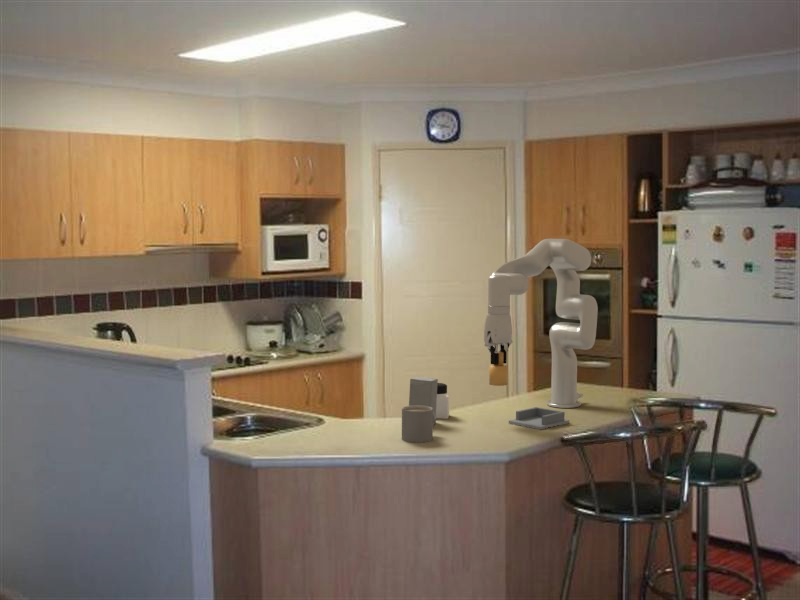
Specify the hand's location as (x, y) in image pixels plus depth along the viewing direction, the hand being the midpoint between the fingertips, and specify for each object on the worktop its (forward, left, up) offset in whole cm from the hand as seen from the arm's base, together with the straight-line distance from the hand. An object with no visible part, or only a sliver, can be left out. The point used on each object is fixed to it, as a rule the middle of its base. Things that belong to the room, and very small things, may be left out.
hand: (498, 363), depth 345 cm
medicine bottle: (+6, -22, -21) cm, 32 cm away
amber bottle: (0, 0, -7) cm, 7 cm away
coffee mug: (+35, -2, -21) cm, 41 cm away
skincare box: (+18, -18, -21) cm, 34 cm away
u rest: (-11, +10, -21) cm, 25 cm away
